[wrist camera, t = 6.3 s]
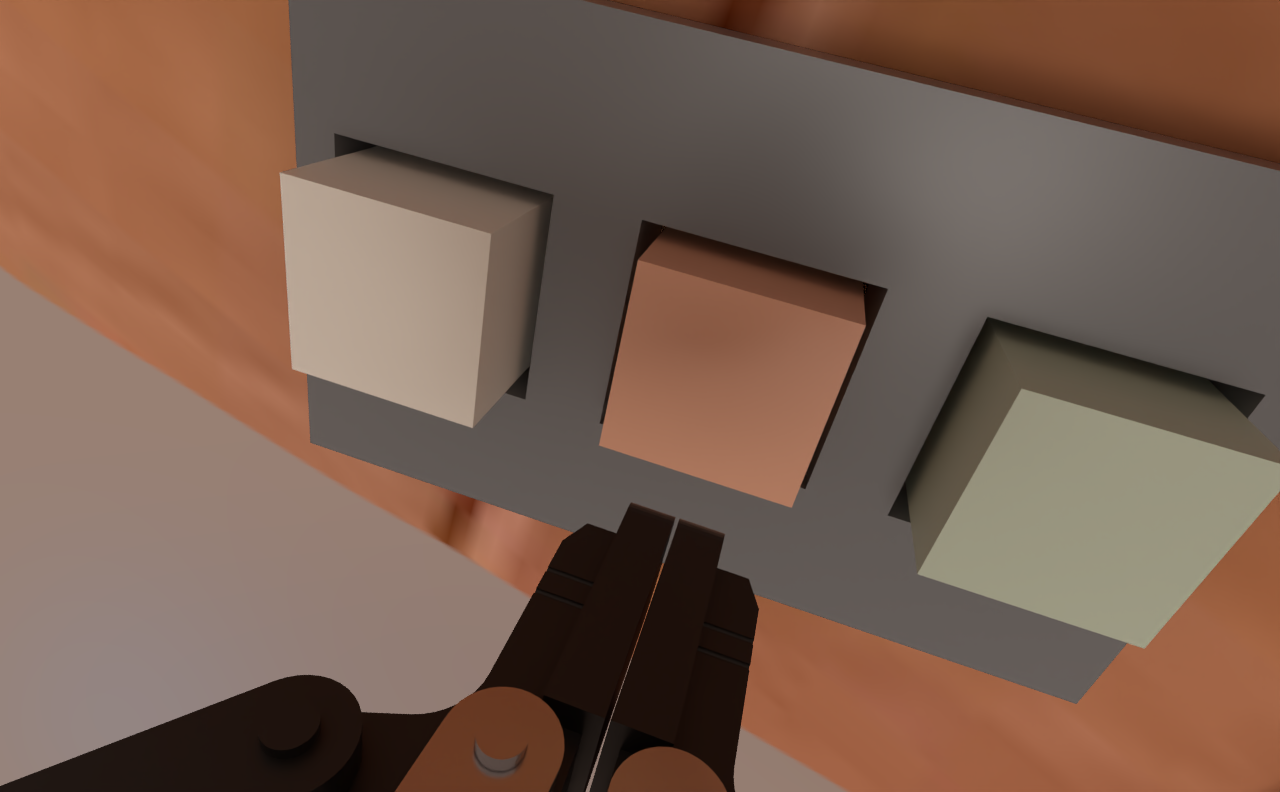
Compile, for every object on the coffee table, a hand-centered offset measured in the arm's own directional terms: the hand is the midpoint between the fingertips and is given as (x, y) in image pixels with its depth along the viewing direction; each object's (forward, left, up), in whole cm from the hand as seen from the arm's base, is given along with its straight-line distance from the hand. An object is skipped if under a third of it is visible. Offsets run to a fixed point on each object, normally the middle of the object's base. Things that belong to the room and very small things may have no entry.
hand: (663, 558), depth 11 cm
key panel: (0, 0, -11) cm, 11 cm away
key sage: (0, +8, -9) cm, 12 cm away
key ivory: (0, -8, -9) cm, 12 cm away
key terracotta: (0, 0, -10) cm, 10 cm away
